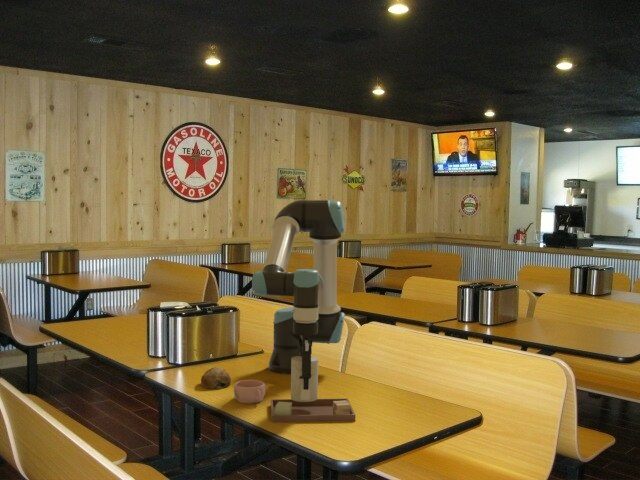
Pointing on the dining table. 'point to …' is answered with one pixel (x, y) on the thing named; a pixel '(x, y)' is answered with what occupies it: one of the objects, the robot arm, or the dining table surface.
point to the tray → (311, 411)
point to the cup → (296, 382)
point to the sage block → (284, 408)
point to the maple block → (341, 407)
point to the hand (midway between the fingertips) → (304, 395)
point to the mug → (249, 391)
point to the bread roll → (215, 379)
